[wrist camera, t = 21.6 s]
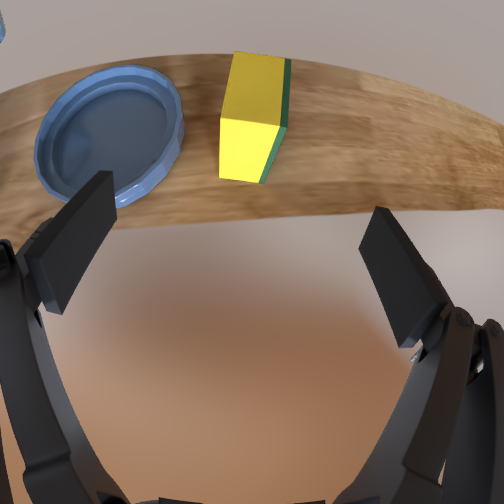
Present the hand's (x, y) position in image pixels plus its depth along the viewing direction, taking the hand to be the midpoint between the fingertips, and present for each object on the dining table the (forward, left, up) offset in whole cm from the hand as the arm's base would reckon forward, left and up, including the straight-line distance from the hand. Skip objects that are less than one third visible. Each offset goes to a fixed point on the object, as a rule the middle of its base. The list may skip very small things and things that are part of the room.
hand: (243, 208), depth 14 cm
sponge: (0, +11, -14) cm, 18 cm away
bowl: (-15, +11, -14) cm, 23 cm away
